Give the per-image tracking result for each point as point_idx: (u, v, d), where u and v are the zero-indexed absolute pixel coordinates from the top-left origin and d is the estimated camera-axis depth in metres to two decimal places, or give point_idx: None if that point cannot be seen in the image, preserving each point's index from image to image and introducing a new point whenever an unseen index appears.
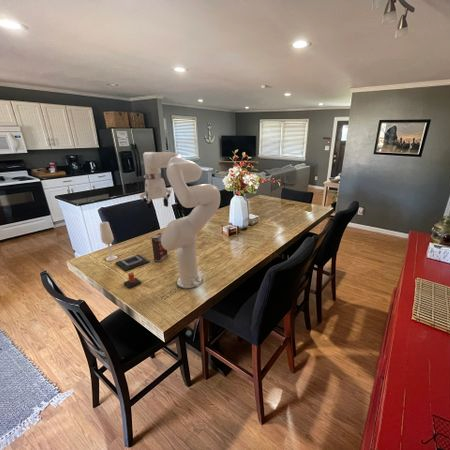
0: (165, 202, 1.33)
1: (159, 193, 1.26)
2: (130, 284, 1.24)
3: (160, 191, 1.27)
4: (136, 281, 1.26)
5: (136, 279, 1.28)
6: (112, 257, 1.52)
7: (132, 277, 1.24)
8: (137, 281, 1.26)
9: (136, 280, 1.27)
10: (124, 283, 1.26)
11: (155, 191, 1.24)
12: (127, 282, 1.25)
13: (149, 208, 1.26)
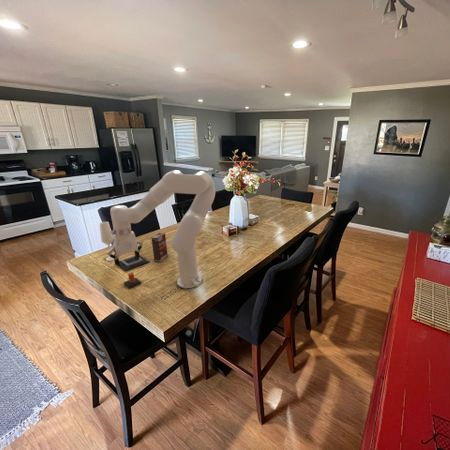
0: (136, 255, 1.24)
1: (128, 248, 1.18)
2: (130, 284, 1.24)
3: (130, 245, 1.18)
4: (136, 281, 1.26)
5: (136, 279, 1.28)
6: None
7: (132, 277, 1.24)
8: (137, 281, 1.26)
9: (136, 280, 1.27)
10: (124, 283, 1.26)
11: (124, 246, 1.16)
12: (127, 282, 1.25)
13: (117, 264, 1.18)
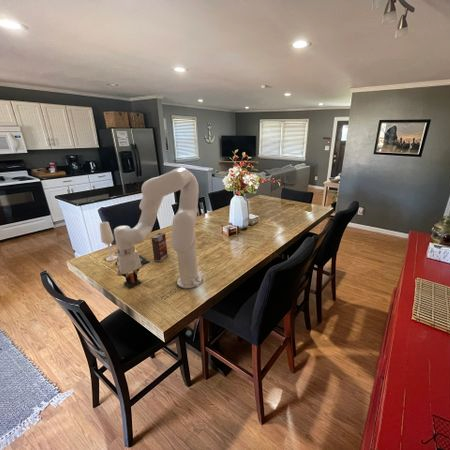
0: (134, 276, 1.26)
1: (132, 266, 1.21)
2: (130, 284, 1.24)
3: (133, 264, 1.21)
4: (136, 281, 1.26)
5: None
6: (112, 257, 1.52)
7: (132, 277, 1.24)
8: (137, 281, 1.26)
9: None
10: (124, 283, 1.26)
11: (127, 265, 1.19)
12: None
13: (128, 281, 1.24)
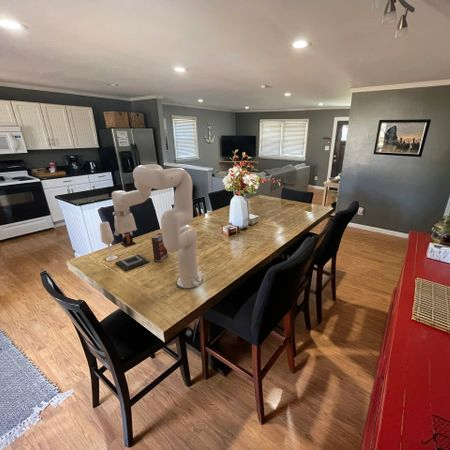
0: (130, 238, 1.41)
1: (128, 227, 1.36)
2: (126, 244, 1.39)
3: (129, 225, 1.37)
4: (131, 242, 1.42)
5: None
6: (112, 257, 1.52)
7: (128, 238, 1.39)
8: (132, 242, 1.42)
9: None
10: (121, 244, 1.41)
11: (124, 226, 1.34)
12: (123, 243, 1.41)
13: (125, 242, 1.39)
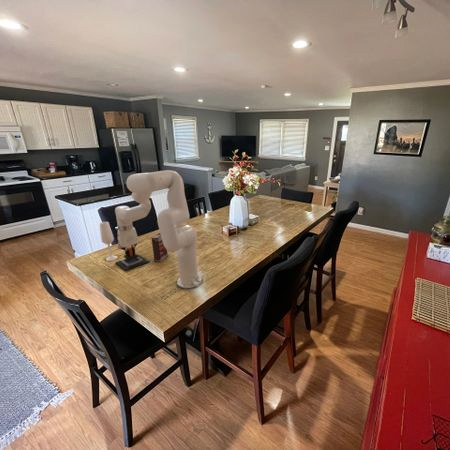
0: (132, 251, 1.46)
1: (130, 241, 1.41)
2: (129, 257, 1.44)
3: (131, 239, 1.41)
4: (134, 255, 1.46)
5: None
6: (112, 257, 1.52)
7: (130, 251, 1.44)
8: (135, 255, 1.46)
9: None
10: None
11: (126, 240, 1.39)
12: None
13: (127, 255, 1.44)
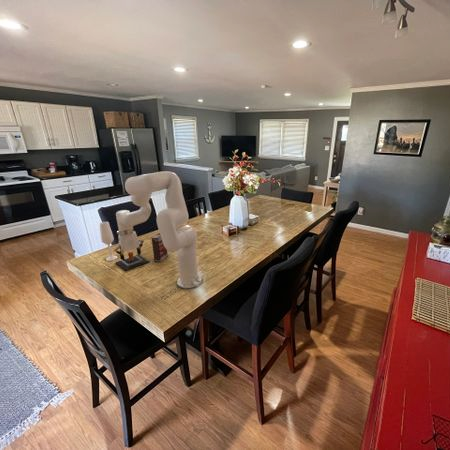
0: (138, 251, 1.48)
1: (131, 245, 1.42)
2: (130, 261, 1.45)
3: (132, 243, 1.42)
4: (135, 259, 1.47)
5: (135, 258, 1.49)
6: (112, 257, 1.52)
7: (131, 255, 1.45)
8: (136, 259, 1.47)
9: (135, 258, 1.48)
10: None
11: (127, 244, 1.40)
12: (127, 260, 1.46)
13: (122, 259, 1.42)
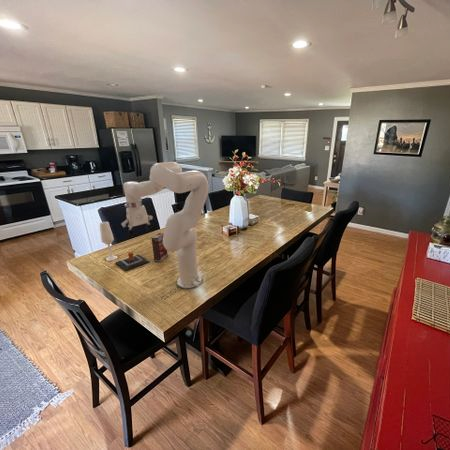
0: (147, 227, 1.38)
1: (140, 220, 1.32)
2: (130, 261, 1.45)
3: (141, 218, 1.32)
4: (135, 259, 1.47)
5: (135, 258, 1.49)
6: (112, 257, 1.52)
7: (131, 255, 1.45)
8: (136, 259, 1.47)
9: (135, 258, 1.48)
10: None
11: (136, 218, 1.30)
12: (127, 260, 1.46)
13: (131, 234, 1.32)
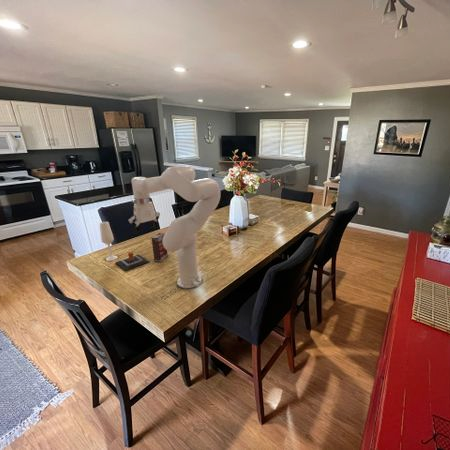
0: (154, 224, 1.35)
1: (148, 216, 1.29)
2: (130, 261, 1.45)
3: (149, 214, 1.29)
4: (135, 259, 1.47)
5: (135, 258, 1.49)
6: (112, 257, 1.52)
7: (131, 255, 1.45)
8: (136, 259, 1.47)
9: (135, 258, 1.48)
10: None
11: (144, 215, 1.27)
12: (127, 260, 1.46)
13: (138, 231, 1.29)
